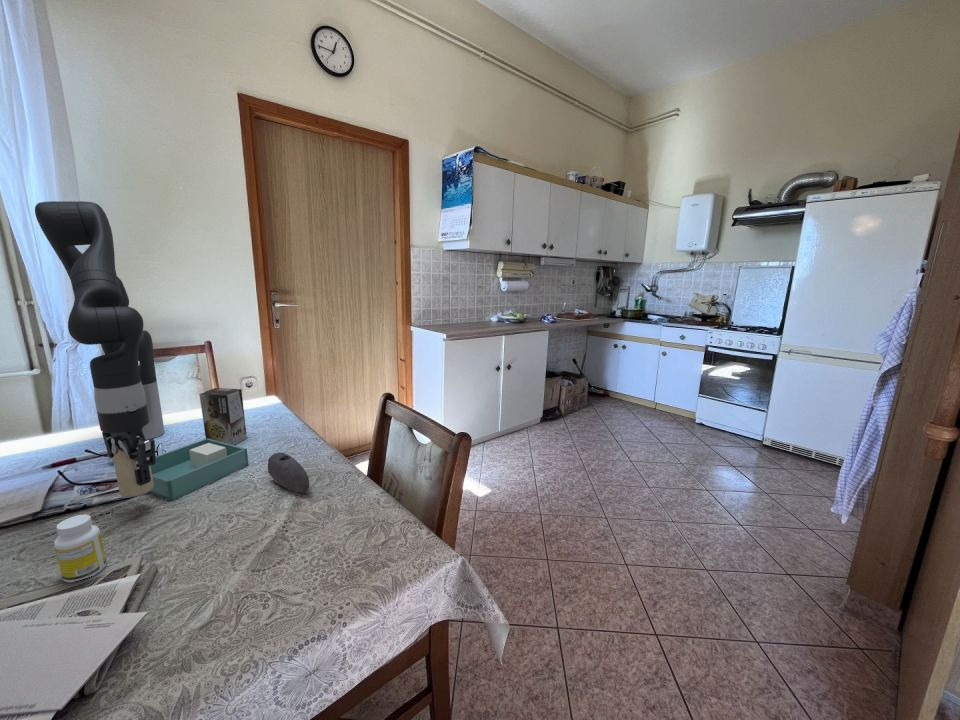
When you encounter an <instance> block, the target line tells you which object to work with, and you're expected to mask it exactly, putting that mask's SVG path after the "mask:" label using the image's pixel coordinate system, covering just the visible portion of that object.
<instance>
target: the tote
mask: <svg viewBox="0 0 960 720" xmlns="http://www.w3.org/2000/svg"><path fill="white" fill-rule="evenodd" d="M207 443H211V444H215V445H219V446H222V447H226V451H227V456H226V457H223V458H221V459H219V460H216V461H214V462H211V463H209V464H207V465H204V466H202V467H199V468H197V467H194V466H191V459H190V452H189V450H190V449H193V448H196V447H199V446H201V445H204V444H207ZM155 459H156V464H154V465H151V471H152V477H153V483H154V487H153V489H152V490H150V491H149V492H147V493H148V494H151V495H154V496H156V497H159V498H161V499H164V500H167V501H168V502H173V501H175V500H176V499H179V498H181V497H183V496H185V495H187V494H189V493H191V492H193V491H196V490H199V489H201V488H203V487H205V486H206V485H209V484H211V483H213V482H216V481H218V480H220V479H222V478H224V477H226V476H228V475H231V474H233V473H236V472H237V471H239V470H242V469H244V468H246V467H248V466H249V457H248V448H245V447H242V446H241V447H240V446H238V445H231V444H227V443H223V442H220V441H216V440H212V439H208V438H207V439H206V438H204V439H201V440H199V441H195V442H193V443H190V444H187V445H184V446H182V447H179V448H176V449H174V450H171V451H168V452H165V453H162V454H160V455H157V456H156V455H155Z"/></svg>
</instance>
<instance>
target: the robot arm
mask: <svg viewBox="0 0 960 720" xmlns="http://www.w3.org/2000/svg"><path fill="white" fill-rule="evenodd" d="M34 215H35V218H36V221H37V223H38V224H39V225H38V226H39V227H40V229H41V231H42V232H43V235H44V236H45V238H46V240H47V241H48V243H49V244H50V246H51V247H52V249H53V251H54V252H55V254H56V255H57V257H58V259H59V261H60V262H61V263H62V265H63V267H64V269H65V271H66V273H67V276H68V278H69V280H70V283H71V288H72V291H73V295H74V300H73V301H74V302H73V306H72V308H71V311H70V313H69V316H68V319H67V320H68V321H67V331H68V333H69V335H70V336H71V338H72V339H73V340H74V341H76V342H78V343H80V344H83V345H86V346H88V345H89V346H91V345H92V346H93V345H100V346H101V348H102V352H103V354H102V355H99V356H96V357H93V358H92V359H90V361H89V368H90V374H91V380H92V384H93V392H94V395H93V396H94V397H93V398H94V404H95V409H96V414H97V419H98V424H99V429H100V431H101V433H102V434H101V435H102V438H103V441H104V445H105V448H106V452H107V455H108V456H109V457H110V458H113V457H114V456H115V455H116V454H117V453H118V452H119V451H120V450H122V452H124V453H125V455H126V458H127V460H131V462H132V464H133V466H134V471H135V476H136V482H137V484H138V485H140V486H141V485H144V484H146V483H149V482H150V481H151V477H150V471H149V466H151V465H154V464H156V459H155V457H156V443H155V442H156V441H155V440H154V439H155V438H158V437H160V436H162V435H163V434H165V425H164V418H163V413H162V405H161V399H160V392H159V386H158V381H157V380H158V379H157V374H156V373H157V372H156V365H155V357H154V356H155V355H154V344H153V339H152V338H153V337H152V335H151V334H150V333H149V331H148V330H144V318H143V317H142V315H141V313H140V312H139V311H138V310H137V309H135V308H134V307H131V306H129V305H130V299H129V294H128V293H127V290H126V288H125V285H124V283H123V281H122V279H120V278H119V277H118V275H117V270H116V263H115V260H116V257H115V246H114V236H113V230H112V228H111V224H110V221H109V219H108V217H107V214H106V212H105V210H104V209H103V208H102V206H100V205H99V204H98V203H96V202H93V201H82V200H81V201H80V200H78V201H74V200H73V201H72V200H71V201H66V200H65V201H63V200H61V201H60V200H59V201H58V200H57V201H56V200H55V201H42V202H38V203H36V205H35V206H34ZM77 246H88V248H87V249H86V250H84V252H83V253H82V252H81V251H80V250H79V249H78V248H77ZM137 451H138V454H135V455H132V454H131V453H134V452H137ZM108 456H107V457H108ZM137 457H138V461H137Z"/></svg>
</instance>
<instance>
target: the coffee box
mask: <svg viewBox="0 0 960 720" xmlns="http://www.w3.org/2000/svg"><path fill="white" fill-rule="evenodd" d="M243 401H244V400H243V392H242V388H223V387H220V388H218V387H214V388H212V389H209V390H206V391H205V392H202V393H199V402H200V407H201V413H202V421H203V429H204V433H205V439H207V438H208V439H212V440H216V441H220V442H223V443H227V444H231V445H235V446H237V445H238V444H239V443H241V442H243V441H245V440H247V438H248V436H247V427H246V420H245V419H246V417H245V408H244V402H243Z"/></svg>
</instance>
